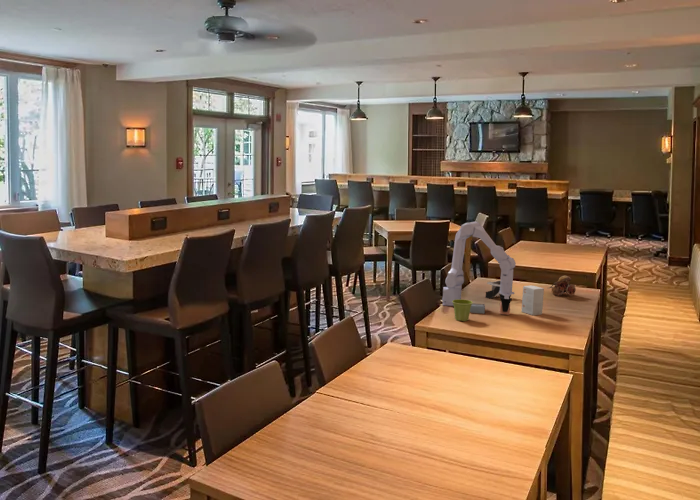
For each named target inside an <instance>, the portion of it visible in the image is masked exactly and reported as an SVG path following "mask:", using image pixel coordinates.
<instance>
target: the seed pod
mask: <svg viewBox="0 0 700 500" xmlns="http://www.w3.org/2000/svg"><path fill="white" fill-rule="evenodd" d="M571 281H572V278H571V277H570V275H569V276H568V275H562V276H560V277H559V278H558V280H557V281H555V282H553V283H552V285H551V286H550V287H547V289H551V292H552V295H553V296H560V297H561V296H562V295H563V294H567V295H569V296H572V295H573V296H575V293H576V290H577V289H576V286H575V284H572V283H570V282H571Z"/></svg>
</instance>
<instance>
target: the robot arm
mask: <svg viewBox="0 0 700 500" xmlns="http://www.w3.org/2000/svg"><path fill="white" fill-rule="evenodd" d="M470 237H473V238H478V239H480V240H481V241H482V242H483V244H485V245H486V247H487V248H488V249H489V250H490V254H491V256H492V257H493V258H494V259H495V261H496V262H498V263H497V264H498V265H499V269H500V280H499V281H500V291H499V296H498V297H499V299H500V302H502V310H503V312H507V311H508V308H509V304H510V305H511V302H512V300H513V298H512V295H515V291H513V285H514V284H513V283H514V282H513V281H514V280H513V279H514V268H516V260H515V259H514V258H513V257H511V255H509V254H508V253H506V251H505V250H504V247H503V246H500V245H496V243H495V241H494V240H493V239H492V238H491V237H490V235H489V234H488V232H487V231H486V230H485V228H484V227H483V225H481V224H480V222H479V221H471V222H465V223H463V224H461V225H460V228H459V229H458V231H457V232H456V233H455V237H454V244H453V253H452V260H451V267H450V270H448V272H447V276H446V278H445V282H444V283H445V285H446V286H443V287H442V288H443V290H442V297H441V302H442V306H448V307H454V305H453V302H452V301H453V300H457V299H462V289H463V288H462V285H463V284H464V282H465V277H464V271H463V263H464V257H465V249H466V241H467V239H468V238H470Z"/></svg>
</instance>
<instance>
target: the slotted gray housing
mask: <svg viewBox="0 0 700 500" xmlns="http://www.w3.org/2000/svg"><path fill="white" fill-rule="evenodd" d="M485 311H486V305H485V303H472V306H471V308H470V312H471V313H470V314H485Z"/></svg>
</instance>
